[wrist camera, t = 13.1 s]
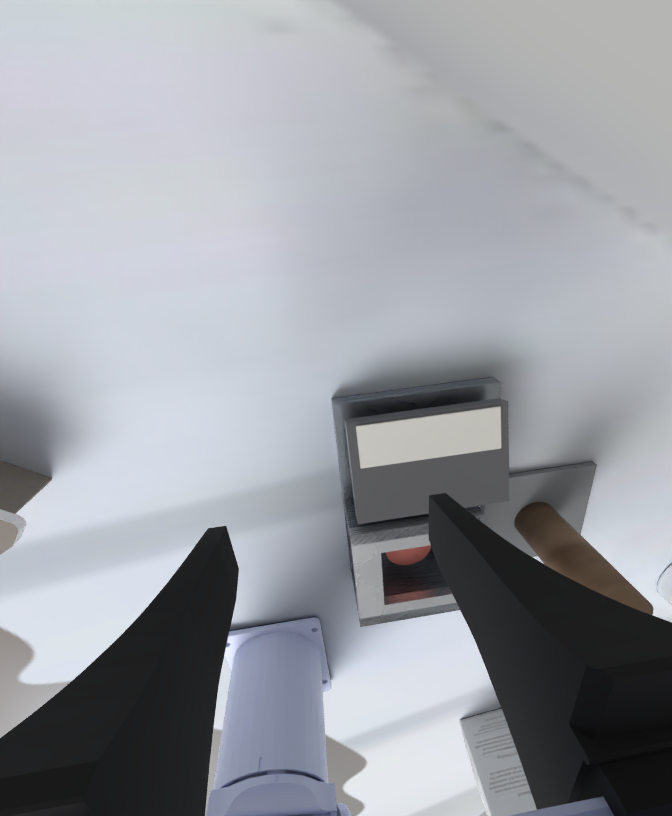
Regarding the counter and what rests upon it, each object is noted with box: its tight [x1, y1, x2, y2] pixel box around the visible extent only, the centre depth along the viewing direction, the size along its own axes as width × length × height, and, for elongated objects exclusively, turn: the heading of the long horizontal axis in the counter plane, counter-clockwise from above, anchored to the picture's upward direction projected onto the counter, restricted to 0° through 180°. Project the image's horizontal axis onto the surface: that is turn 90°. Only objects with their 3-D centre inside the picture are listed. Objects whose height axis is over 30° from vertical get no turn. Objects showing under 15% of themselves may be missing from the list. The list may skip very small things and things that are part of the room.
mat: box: [481, 462, 597, 557], centre depth 26 cm, size 8×8×1 cm
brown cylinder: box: [514, 502, 653, 615], centre depth 23 cm, size 3×3×8 cm
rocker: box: [344, 398, 509, 524], centre depth 20 cm, size 6×9×1 cm, turn 96°
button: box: [386, 545, 431, 565], centre depth 25 cm, size 3×3×2 cm
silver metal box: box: [331, 377, 501, 627], centre depth 23 cm, size 15×10×4 cm, turn 6°
